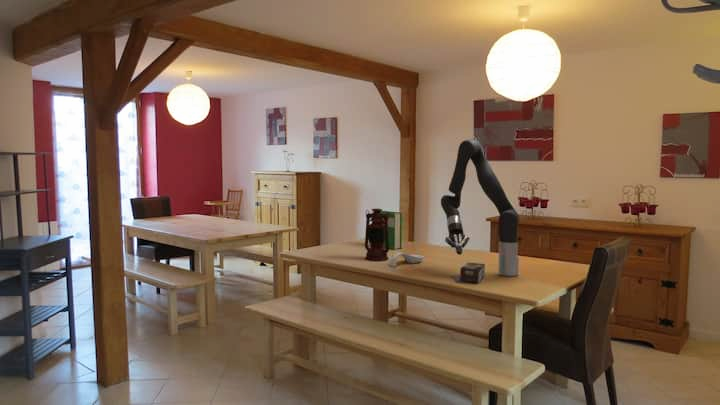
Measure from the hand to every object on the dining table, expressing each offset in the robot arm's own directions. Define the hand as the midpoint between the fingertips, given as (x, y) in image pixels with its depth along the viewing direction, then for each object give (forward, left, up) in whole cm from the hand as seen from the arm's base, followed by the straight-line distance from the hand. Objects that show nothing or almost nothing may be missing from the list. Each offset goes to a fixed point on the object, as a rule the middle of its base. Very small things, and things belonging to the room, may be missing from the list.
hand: (459, 253), depth 252 cm
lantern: (+39, -45, -12) cm, 61 cm away
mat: (-2, +5, -12) cm, 13 cm away
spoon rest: (+23, -32, -12) cm, 41 cm away
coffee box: (-9, -2, -8) cm, 12 cm away
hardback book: (+29, -82, -12) cm, 88 cm away
